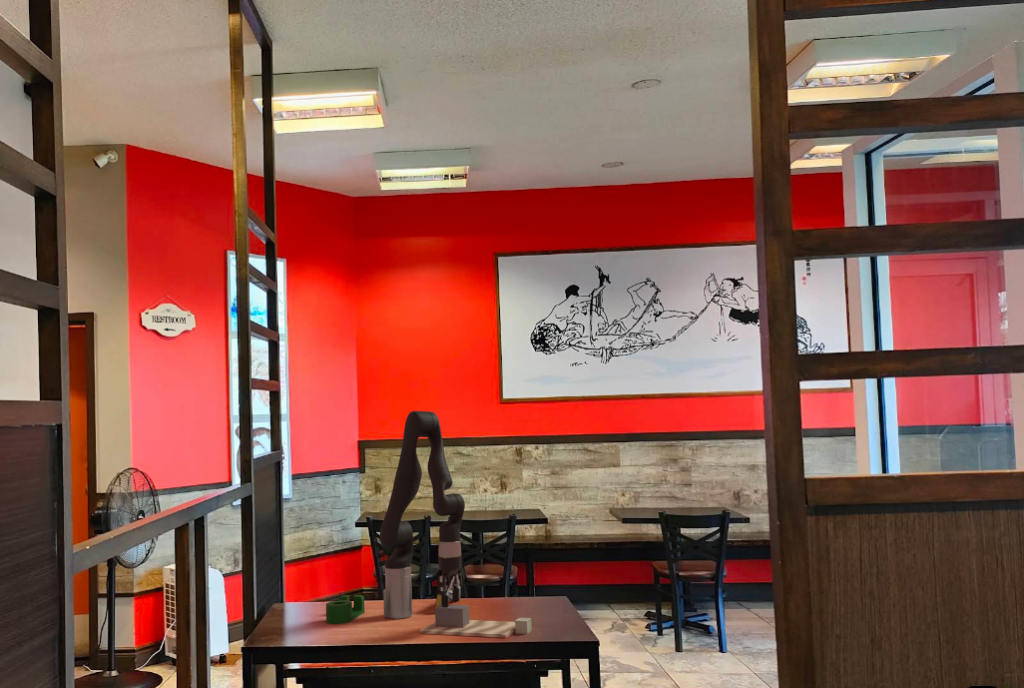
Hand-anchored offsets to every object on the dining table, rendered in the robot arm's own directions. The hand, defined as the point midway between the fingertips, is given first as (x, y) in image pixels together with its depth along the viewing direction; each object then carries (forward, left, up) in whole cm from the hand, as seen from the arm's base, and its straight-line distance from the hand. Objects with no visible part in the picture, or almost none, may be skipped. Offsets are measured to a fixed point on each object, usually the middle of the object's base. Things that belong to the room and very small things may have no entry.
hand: (450, 604), depth 262 cm
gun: (-16, +32, -8) cm, 37 cm away
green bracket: (-46, +7, -8) cm, 47 cm away
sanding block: (0, 0, -7) cm, 7 cm away
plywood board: (+7, 0, -8) cm, 11 cm away
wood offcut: (+25, 0, -8) cm, 27 cm away
